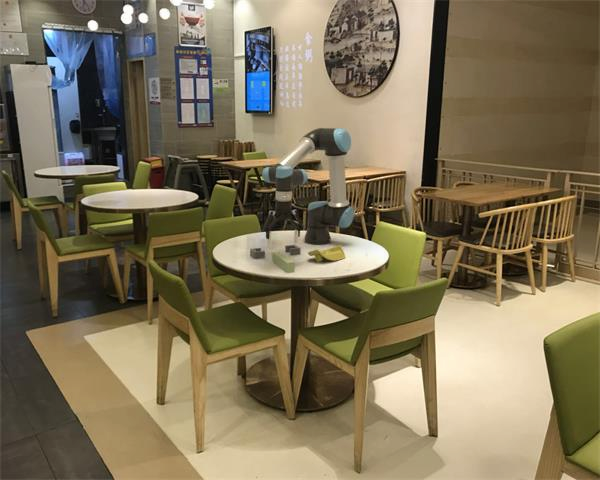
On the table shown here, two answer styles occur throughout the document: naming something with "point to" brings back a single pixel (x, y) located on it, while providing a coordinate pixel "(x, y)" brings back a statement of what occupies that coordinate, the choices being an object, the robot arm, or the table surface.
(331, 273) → the table surface
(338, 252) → the plastic component
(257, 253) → the end caps
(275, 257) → the slat
